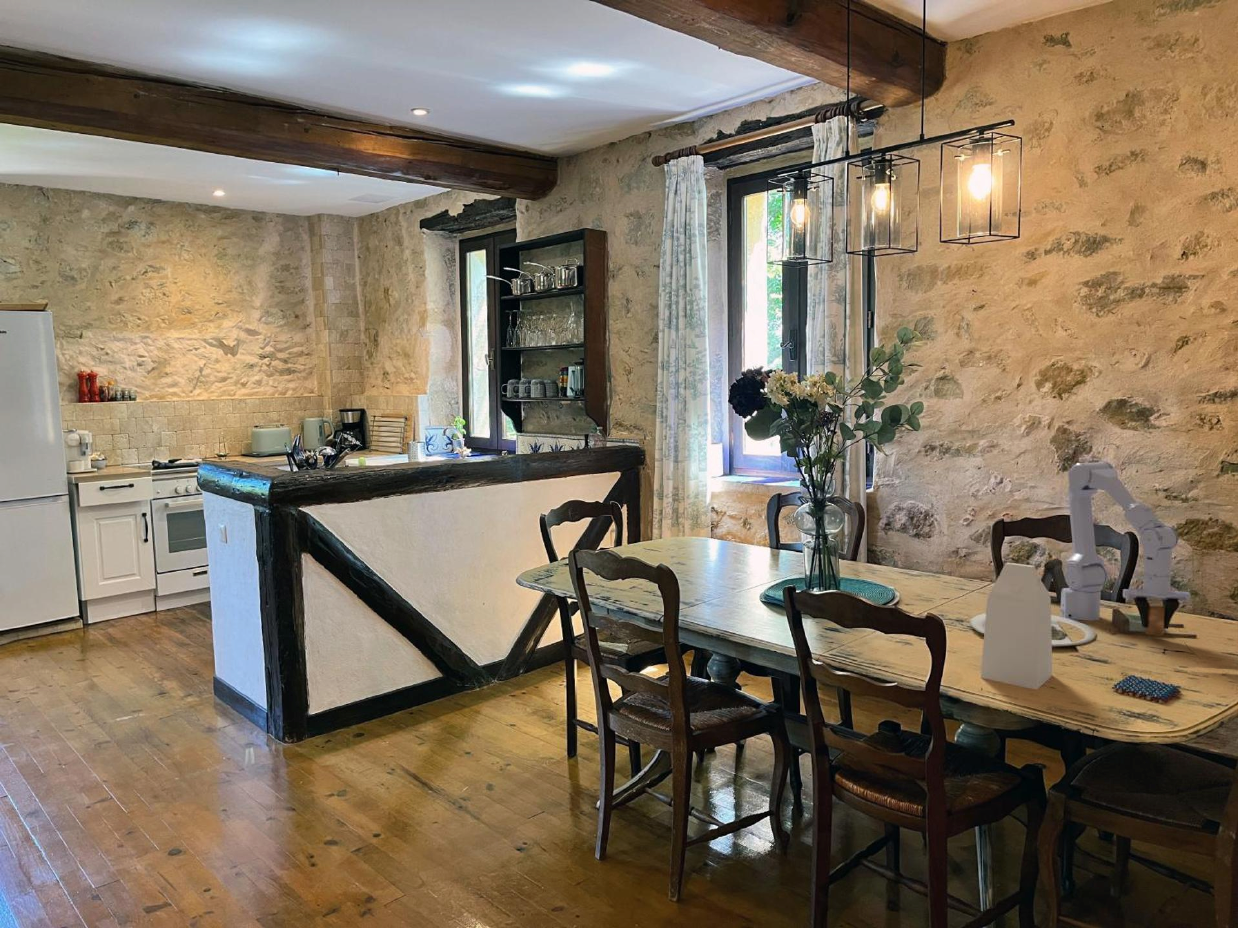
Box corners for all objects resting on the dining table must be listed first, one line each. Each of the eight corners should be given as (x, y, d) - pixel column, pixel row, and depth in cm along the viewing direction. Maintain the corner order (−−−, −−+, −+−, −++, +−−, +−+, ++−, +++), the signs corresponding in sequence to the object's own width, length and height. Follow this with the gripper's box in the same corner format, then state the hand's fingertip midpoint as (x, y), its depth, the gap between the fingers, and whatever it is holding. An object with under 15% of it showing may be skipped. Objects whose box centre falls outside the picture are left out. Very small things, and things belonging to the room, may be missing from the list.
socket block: (1128, 633, 224) (1129, 621, 223) (1120, 624, 232) (1120, 613, 231) (1164, 635, 221) (1165, 623, 221) (1154, 625, 229) (1155, 614, 229)
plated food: (1079, 621, 240) (1080, 609, 239) (1109, 655, 211) (1110, 642, 211) (964, 615, 248) (964, 603, 247) (977, 647, 219) (978, 634, 219)
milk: (1052, 675, 198) (1056, 563, 195) (1036, 689, 189) (1040, 573, 186) (998, 664, 206) (1000, 556, 203) (980, 677, 197) (983, 565, 194)
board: (1128, 644, 218) (1129, 625, 217) (1111, 626, 233) (1112, 608, 232) (1206, 649, 213) (1207, 629, 212) (1183, 630, 228) (1184, 612, 228)
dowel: (1147, 634, 217) (1149, 607, 216) (1143, 630, 221) (1144, 603, 220) (1166, 636, 216) (1167, 608, 215) (1160, 631, 220) (1162, 604, 219)
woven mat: (1128, 681, 194) (1128, 672, 194) (1181, 694, 186) (1182, 685, 186) (1109, 693, 188) (1109, 684, 187) (1164, 707, 179) (1164, 697, 179)
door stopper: (1072, 600, 260) (1073, 561, 259) (1064, 604, 256) (1065, 564, 255) (1041, 595, 267) (1042, 556, 265) (1032, 598, 263) (1034, 559, 261)
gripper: (1129, 576, 215) (1127, 629, 217) (1196, 579, 211) (1193, 633, 213) (1121, 570, 222) (1119, 621, 223) (1185, 572, 218) (1183, 625, 219)
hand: (1154, 626), depth 218 cm, fingers closed on dowel, 4 cm apart
